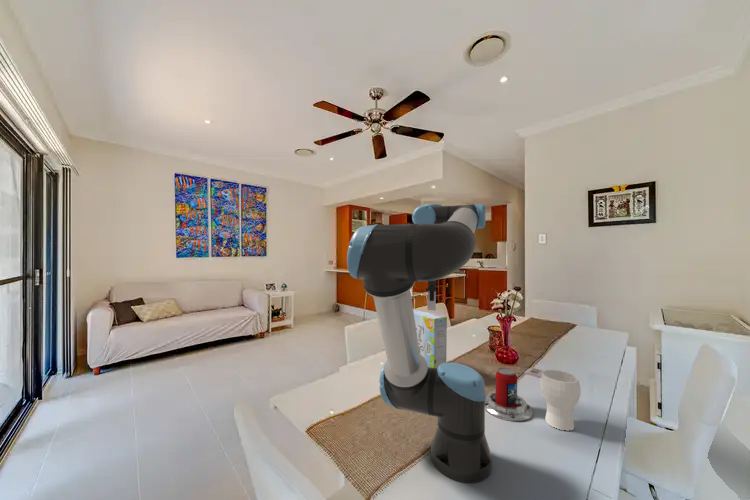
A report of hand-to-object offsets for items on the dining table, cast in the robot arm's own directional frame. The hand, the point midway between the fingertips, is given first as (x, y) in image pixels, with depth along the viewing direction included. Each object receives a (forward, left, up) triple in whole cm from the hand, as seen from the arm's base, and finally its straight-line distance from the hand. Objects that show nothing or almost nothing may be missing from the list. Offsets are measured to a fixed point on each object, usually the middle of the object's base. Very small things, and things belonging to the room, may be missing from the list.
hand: (431, 306), depth 106 cm
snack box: (+25, +3, -34) cm, 42 cm away
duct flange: (-2, -25, -34) cm, 42 cm away
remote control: (+28, -48, -35) cm, 66 cm away
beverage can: (-2, -25, -33) cm, 42 cm away
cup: (-9, -39, -34) cm, 53 cm away
